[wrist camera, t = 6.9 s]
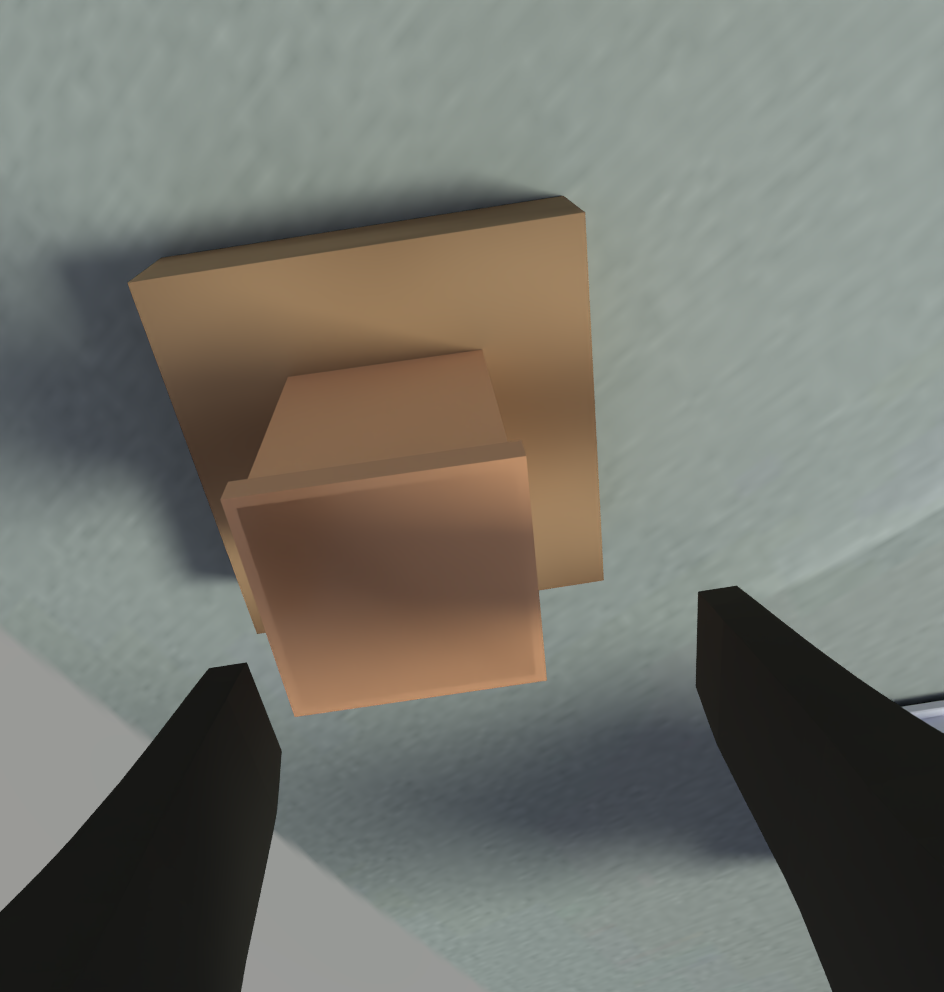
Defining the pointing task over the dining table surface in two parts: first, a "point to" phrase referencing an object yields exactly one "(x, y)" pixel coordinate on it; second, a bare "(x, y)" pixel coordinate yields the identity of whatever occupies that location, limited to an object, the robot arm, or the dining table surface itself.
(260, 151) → the dining table surface
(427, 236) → the walnut block
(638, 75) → the dining table surface
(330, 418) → the square wooden stamp
